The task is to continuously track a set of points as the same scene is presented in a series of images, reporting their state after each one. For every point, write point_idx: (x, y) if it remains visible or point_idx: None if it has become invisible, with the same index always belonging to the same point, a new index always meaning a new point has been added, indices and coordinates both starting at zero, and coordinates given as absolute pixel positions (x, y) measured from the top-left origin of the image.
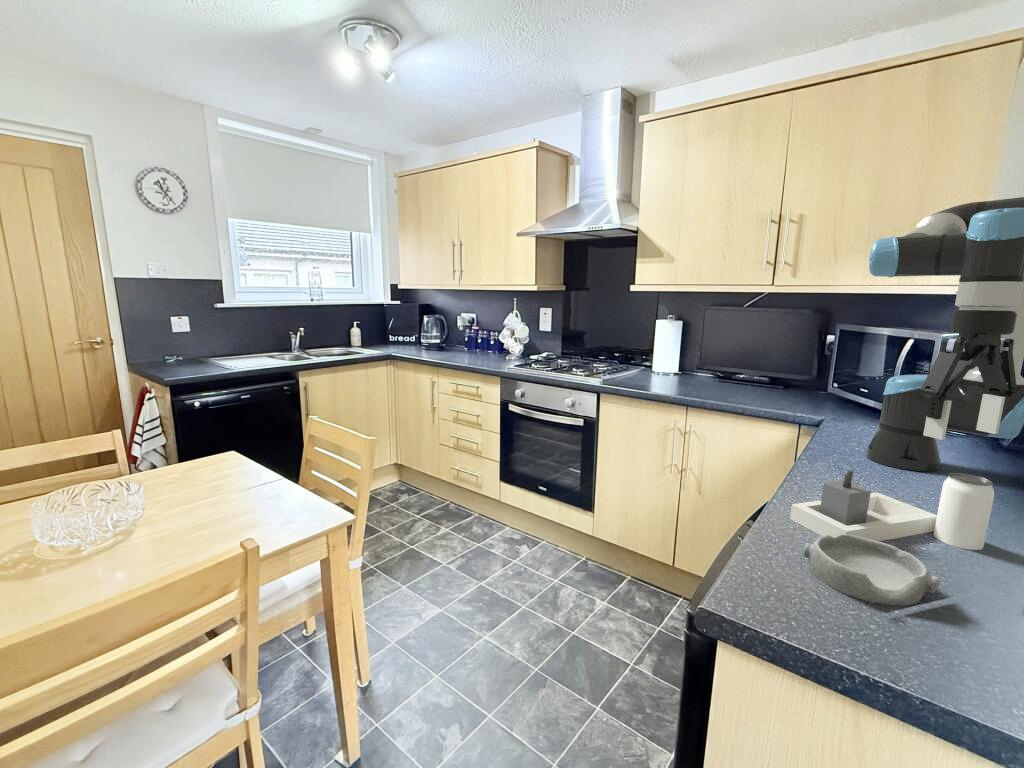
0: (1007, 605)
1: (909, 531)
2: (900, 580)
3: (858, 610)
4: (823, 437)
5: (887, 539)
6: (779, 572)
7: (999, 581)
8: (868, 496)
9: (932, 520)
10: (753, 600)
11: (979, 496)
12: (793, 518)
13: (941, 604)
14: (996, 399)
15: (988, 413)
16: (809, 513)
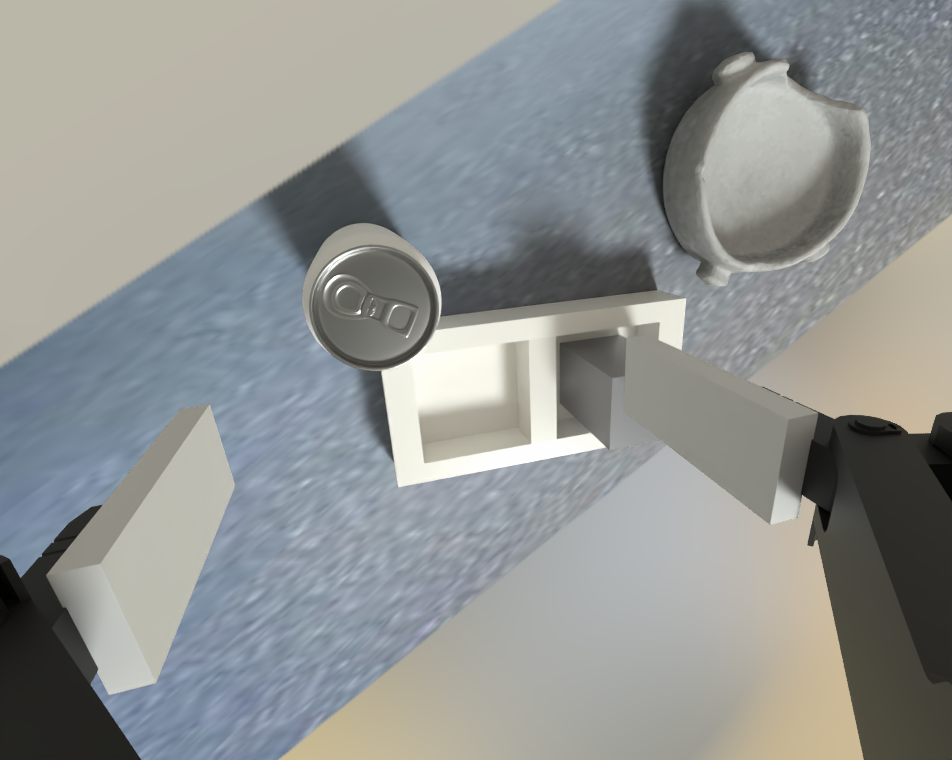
0: (553, 22)
1: (474, 316)
2: (728, 126)
3: None
4: None
5: (540, 306)
6: (829, 242)
7: (460, 103)
8: (610, 371)
9: None
10: (931, 175)
11: (405, 241)
12: None
13: (676, 71)
14: (133, 573)
15: (187, 517)
16: None
